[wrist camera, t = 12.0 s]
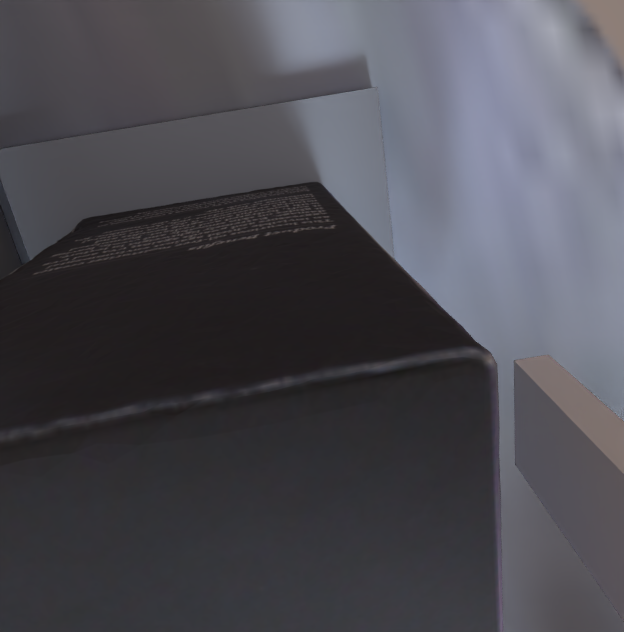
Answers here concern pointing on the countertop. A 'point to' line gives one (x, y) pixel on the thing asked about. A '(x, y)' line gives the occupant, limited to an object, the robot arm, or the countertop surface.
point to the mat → (204, 165)
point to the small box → (242, 430)
